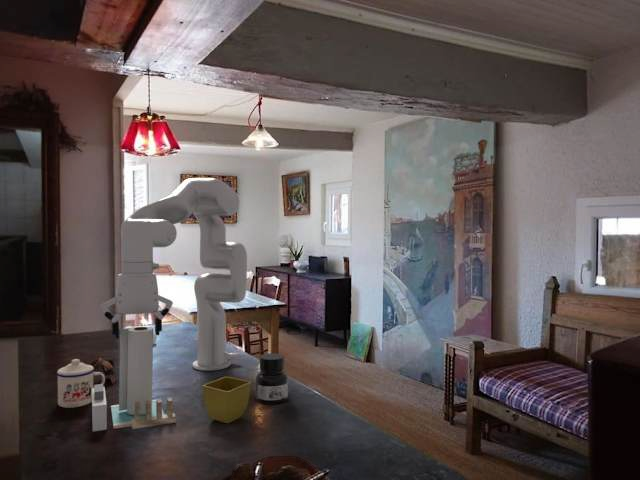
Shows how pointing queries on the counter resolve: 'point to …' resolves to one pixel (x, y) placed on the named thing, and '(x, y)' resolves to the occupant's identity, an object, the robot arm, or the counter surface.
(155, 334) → the elephant figurine
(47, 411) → the counter surface
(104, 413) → the block
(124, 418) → the pad
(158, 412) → the cable comb
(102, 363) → the pottery mug
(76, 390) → the teacup with lid
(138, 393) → the paper towel roll
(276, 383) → the ink bottle
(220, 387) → the flower pot
